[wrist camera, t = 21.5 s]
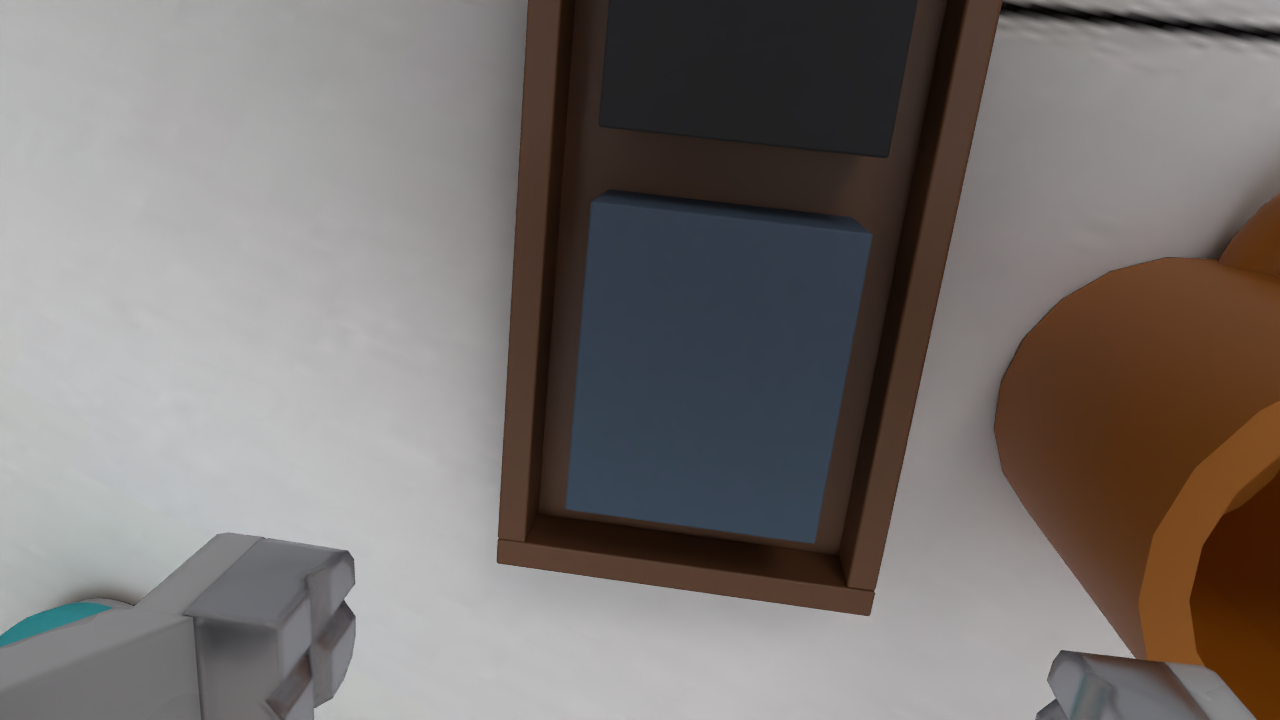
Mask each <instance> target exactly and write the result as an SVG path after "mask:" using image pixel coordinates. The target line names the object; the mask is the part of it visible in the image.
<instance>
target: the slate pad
mask: <svg viewBox="0 0 1280 720" xmlns="http://www.w3.org/2000/svg"><path fill="white" fill-rule="evenodd" d="M872 238H873V235H872V234H871V233H870V232H869V231H868V230H867V229H865V228H864V227H863V226H862V225H861V224H860V223H858V222H857V221H856V220H855V219H854V218H852V217H846V216H837V215H828V214H819V213H811V212H802V211H793V210H785V209H776V208H767V207H758V206H750V205H741V204H732V203H724V202H715V201H706V200H698V199H689V198H680V197H671V196H663V195H654V194H645V193H637V192H628V191H619V190H607V191H606V192H605V193H603V194H602V195H600V196H599V197H598V198H596V199H595V200H594V201H592V202H591V207H590V219H589V231H588V243H587V255H586V267H585V279H584V291H583V303H582V314H581V326H580V338H579V350H578V362H577V374H576V386H575V398H574V410H573V421H572V433H571V445H570V457H569V469H568V481H567V493H566V505H565V508H566V509H567V510H573V511H580V512H587V513H595V514H602V515H609V516H616V517H623V518H631V519H638V520H645V521H652V522H659V523H667V524H674V525H681V526H688V527H695V528H703V529H710V530H717V531H724V532H731V533H739V534H746V535H753V536H760V537H767V538H775V539H782V540H789V541H796V542H803V543H811V544H814V543H815V541H816V535H817V530H818V525H819V519H820V514H821V509H822V503H823V498H824V493H825V488H826V482H827V477H828V472H829V466H830V461H831V456H832V450H833V445H834V440H835V434H836V429H837V424H838V418H839V413H840V408H841V402H842V397H843V392H844V387H845V381H846V376H847V371H848V365H849V360H850V355H851V349H852V344H853V339H854V333H855V328H856V323H857V317H858V312H859V307H860V301H861V296H862V291H863V286H864V280H865V275H866V270H867V264H868V259H869V254H870V248H871V243H872Z"/></svg>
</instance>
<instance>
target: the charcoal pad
mask: <svg viewBox="0 0 1280 720" xmlns="http://www.w3.org/2000/svg"><path fill="white" fill-rule="evenodd" d="M917 3H918V0H609V4H608V16H607V28H606V40H605V52H604V64H603V76H602V88H601V100H600V112H599V126H600V127H604V128H613V129H622V130H631V131H640V132H649V133H659V134H668V135H677V136H686V137H695V138H704V139H714V140H723V141H732V142H741V143H750V144H759V145H768V146H778V147H787V148H796V149H805V150H814V151H823V152H833V153H842V154H851V155H860V156H869V157H878V158H888V156H889V152H890V147H891V142H892V136H893V131H894V126H895V120H896V115H897V110H898V104H899V99H900V94H901V88H902V83H903V77H904V72H905V67H906V61H907V56H908V51H909V45H910V40H911V35H912V29H913V24H914V19H915V13H916V8H917Z"/></svg>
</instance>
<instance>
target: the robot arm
mask: <svg viewBox="0 0 1280 720" xmlns="http://www.w3.org/2000/svg"><path fill="white" fill-rule="evenodd" d="M354 585H355V571H354V558H353V557H352V556H351V554H350V553H349V551H347V550H340V549H334V548H328V547H321V546H315V545H309V544H303V543H296V542H290V541H284V540H277V539H271V538H268V539H266V538H264V537H259V536H252V535H244V534H236V533H222V534H217V535H216V536H215V537H213V538H212V539H211V540H210V541H209V542H208V543H206V544H205V545H204V546H203V547H202V548H201V549H200V550H198V551H197V552H196V553H195V554H194V555H193V556H191V557H190V558H189V559H188V560H187V561H186V562H184V563H183V564H182V565H181V566H180V567H179V568H178V569H176V570H175V571H174V572H173V573H172V574H171V575H169V576H168V577H167V578H166V579H165V580H164V581H162V582H161V583H160V584H159V585H158V586H157V587H156V588H154V589H153V590H152V591H151V592H150V593H149V594H147V595H146V596H145V597H144V598H143V599H142V600H140V601H139V602H138V603H137V604H136V605H135V606H134V607H132V608H126V607H115V608H112V609H109V610H106V611H103V612H100V613H97V614H95V615H92V616H89V617H86V618H83V619H80V620H77V621H74V622H71V623H69V624H66V625H63V626H60V627H57V628H54V629H51V630H48V631H45V632H43V633H40V634H37V635H34V636H31V637H28V638H25V639H22V640H19V641H17V642H14V643H11V644H8V645H5V646H2V647H0V720H314V708H316V707H317V706H319V705H321V704H323V703H325V702H327V701H328V700H330V699H332V698H333V697H334V695H335V693H336V692H337V690H338V688H339V687H340V685H341V684H342V682H343V680H344V678H345V675H346V672H347V669H348V666H349V664H350V661H351V658H352V655H353V648H354V641H355V635H356V616H355V615H354V614H353V612H352V611H351V609H350V608H349V607H348V605H347V604H346V602H345V601H344V598H345V597H346V596H347V594H348V593H349V591H350V590H351V589H352V587H353V586H354ZM1047 682H1048V684H1049V686H1050V687H1051V689H1052V691H1053V693H1054V695H1055V697H1056V699H1055V700H1053V701H1052V702H1051V703H1050V704H1048V705H1047V706H1046V707H1044V708H1043V709H1042V710H1040V711H1039V712H1038V713H1037V715H1036V719H1035V720H1257V719H1256V718H1255V717H1254V716H1253V715H1252V713H1251V712H1250V711H1249V710H1248V709H1247V708H1246V707H1245V705H1244V704H1243V703H1242V702H1241V701H1240V700H1239V698H1238V697H1237V696H1236V695H1235V694H1234V693H1233V692H1232V690H1231V689H1230V688H1229V687H1228V686H1227V685H1226V684H1225V682H1224V681H1223V680H1222V679H1221V678H1220V677H1219V675H1218V674H1217V673H1216V672H1214V671H1212V670H1210V669H1208V668H1206V667H1204V666H1203V665H1194V664H1184V663H1175V662H1165V661H1149V660H1141V659H1132V658H1124V657H1115V656H1107V655H1098V654H1090V653H1082V652H1073V651H1065V650H1061V651H1060V653H1059V654H1058V655H1057V657H1056V658H1055V659H1054V661H1053V663H1052V666H1051V669H1050V672H1049V675H1048V678H1047Z"/></svg>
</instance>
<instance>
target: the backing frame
mask: <svg viewBox="0 0 1280 720" xmlns="http://www.w3.org/2000/svg"><path fill="white" fill-rule="evenodd" d="M1002 1H1003V0H918V3H917V8H916V13H915V19H914V24H913V29H912V35H911V40H910V45H909V51H908V56H907V61H906V67H905V72H904V77H903V83H902V88H901V94H900V99H899V104H898V110H897V115H896V120H895V126H894V131H893V136H892V142H891V147H890V152H889V156H888V158H878V157H869V156H860V155H851V154H842V153H833V152H823V151H814V150H805V149H796V148H787V147H778V146H768V145H759V144H750V143H741V142H732V141H723V140H714V139H704V138H695V137H686V136H677V135H668V134H659V133H649V132H640V131H631V130H622V129H613V128H604V127H600V126H599V112H600V100H601V88H602V76H603V64H604V52H605V40H606V28H607V16H608V4H609V0H528V12H527V30H526V48H525V66H524V83H523V101H522V119H521V137H520V154H519V172H518V190H517V208H516V225H515V243H514V261H513V279H512V296H511V314H510V332H509V350H508V367H507V385H506V403H505V421H504V438H503V456H502V474H501V492H500V509H499V527H498V538H499V539H498V546H497V563H499V564H506V565H513V566H520V567H527V568H534V569H541V570H548V571H555V572H562V573H569V574H576V575H583V576H591V577H598V578H605V579H612V580H619V581H626V582H633V583H640V584H647V585H654V586H661V587H668V588H675V589H682V590H689V591H696V592H703V593H710V594H717V595H724V596H731V597H738V598H745V599H752V600H759V601H766V602H773V603H780V604H787V605H794V606H801V607H808V608H815V609H822V610H829V611H836V612H843V613H850V614H857V615H864V616H869V615H870V613H871V609H872V604H873V600H874V595H875V592H874V590H875V588H876V585H877V580H878V575H879V571H880V566H881V561H882V557H883V552H884V547H885V543H886V538H887V534H888V529H889V524H890V520H891V515H892V510H893V506H894V501H895V496H896V492H897V487H898V483H899V478H900V473H901V469H902V464H903V459H904V455H905V450H906V445H907V441H908V436H909V432H910V427H911V422H912V418H913V413H914V408H915V404H916V399H917V395H918V390H919V385H920V381H921V376H922V371H923V367H924V362H925V357H926V353H927V348H928V344H929V339H930V334H931V330H932V325H933V320H934V316H935V311H936V306H937V302H938V297H939V293H940V288H941V283H942V279H943V274H944V269H945V265H946V260H947V255H948V251H949V246H950V242H951V237H952V232H953V228H954V223H955V218H956V214H957V209H958V204H959V200H960V195H961V191H962V186H963V181H964V177H965V172H966V167H967V163H968V158H969V154H970V149H971V144H972V140H973V135H974V130H975V126H976V121H977V116H978V112H979V107H980V103H981V98H982V93H983V89H984V84H985V79H986V75H987V70H988V65H989V61H990V56H991V52H992V47H993V42H994V38H995V33H996V28H997V24H998V19H999V14H1000V10H1001V5H1002ZM607 190H619V191H628V192H637V193H645V194H654V195H663V196H671V197H680V198H689V199H698V200H706V201H715V202H724V203H732V204H741V205H750V206H758V207H767V208H776V209H785V210H793V211H802V212H811V213H819V214H828V215H837V216H846V217H852V218H854V219H855V220H856V221H857V222H858V223H860V224H861V225H862V226H863V227H864V228H865V229H867V230H868V231H869V232H870V233H871V234H872V235H873V238H872V243H871V248H870V254H869V259H868V264H867V270H866V275H865V280H864V286H863V291H862V296H861V301H860V307H859V312H858V317H857V323H856V328H855V333H854V339H853V344H852V349H851V355H850V360H849V365H848V371H847V376H846V381H845V387H844V392H843V397H842V402H841V408H840V413H839V418H838V424H837V429H836V434H835V440H834V445H833V450H832V456H831V461H830V466H829V472H828V477H827V482H826V488H825V493H824V498H823V503H822V509H821V514H820V519H819V525H818V530H817V535H816V541H815V543H814V544H811V543H803V542H796V541H789V540H782V539H775V538H767V537H760V536H753V535H746V534H739V533H731V532H724V531H717V530H710V529H703V528H695V527H688V526H681V525H674V524H667V523H659V522H652V521H645V520H638V519H631V518H623V517H616V516H609V515H602V514H595V513H587V512H580V511H573V510H567V509H566V508H565V505H566V493H567V481H568V469H569V457H570V445H571V433H572V421H573V410H574V398H575V386H576V374H577V362H578V350H579V338H580V326H581V314H582V303H583V291H584V279H585V267H586V255H587V243H588V231H589V219H590V207H591V202H592V201H594V200H595V199H596V198H598V197H599V196H600V195H602V194H603V193H605V192H606V191H607Z"/></svg>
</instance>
